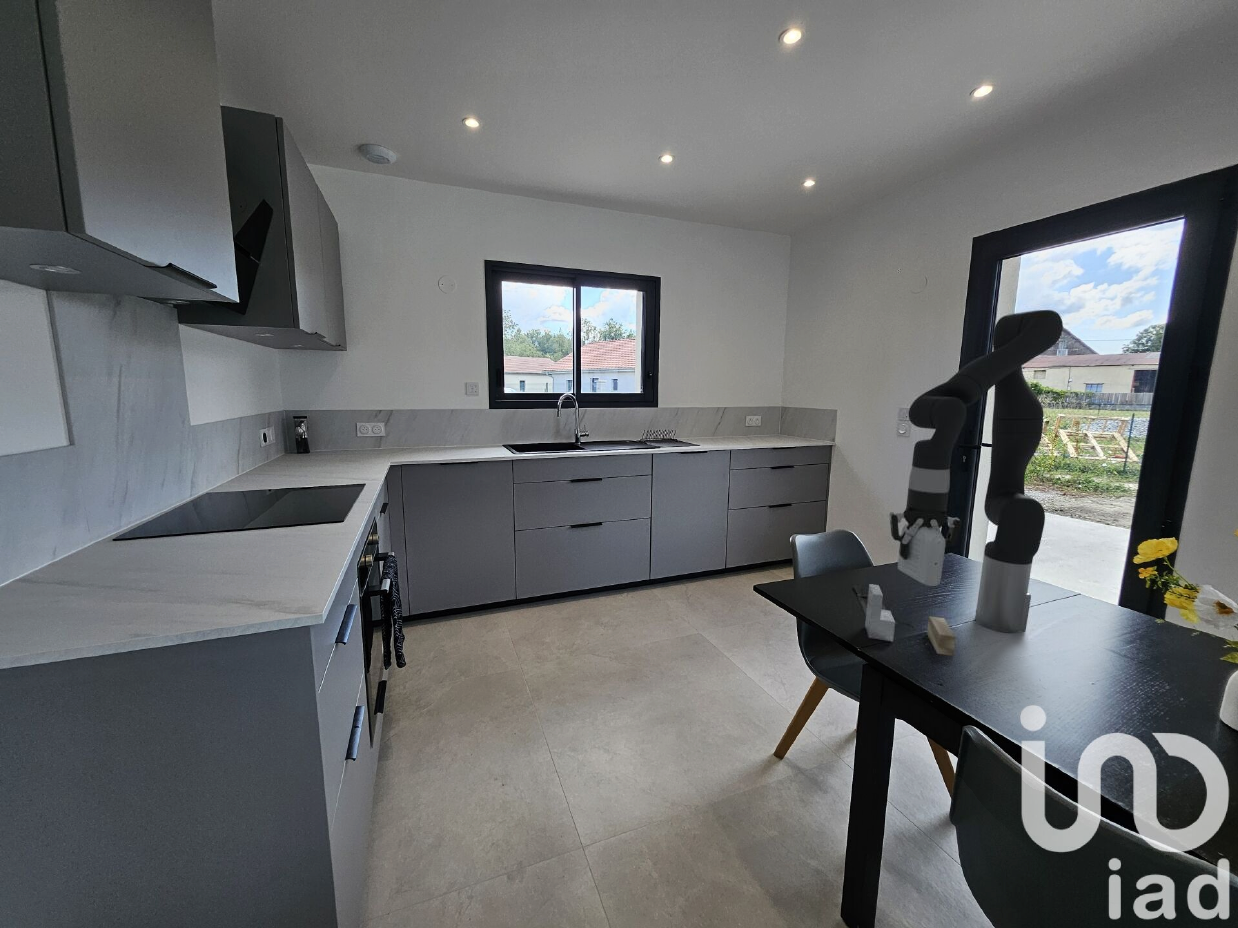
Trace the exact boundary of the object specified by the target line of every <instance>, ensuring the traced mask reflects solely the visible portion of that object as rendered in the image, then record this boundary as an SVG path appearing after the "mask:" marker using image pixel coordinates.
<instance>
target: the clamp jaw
mask: <svg viewBox="0 0 1238 928" xmlns="http://www.w3.org/2000/svg"><path fill="white" fill-rule="evenodd" d="M868 585H869V586H868V594H867V595H868V598H867V604H866V606H867V613H866V614H865V615H866V616H865V623H864V626H865V629H866V633H867V637H868V638H869V639H876V640H882V641H887V642H892V643H893V642H894V637H895V636H894V635H895V627H896V626H895V625H896V624H895V621H896V620H895V619H894V618H893V616H894V615H892V611H891V610H888V609H887V610H882V602H883V597H884V596H883V595H884V593H882V590H881V588H880V586H879V585H878V584H872V583H871V584H870V583H869V584H868ZM894 620H895V621H894Z"/></svg>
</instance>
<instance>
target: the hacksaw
mask: <svg viewBox="0 0 1238 928" xmlns="http://www.w3.org/2000/svg"><path fill="white" fill-rule="evenodd" d="M852 586H853V587H852V590H854V591H855V594H856V593H857V594H856V595H857V596H856V597H857V598H858V601H859V603H860V605H861V606H862V607H861V608H862V609H863V610H862V611H864V614H865V615H866V613H867V604H866V602H865V600H864V598H866V599H868V594H862V592H861V591H862V587H861V586H860V585H857V584H856V585H852ZM883 597H885V596H884V594H883ZM882 610H888V609H887V607H886V605H885V604H884V602H883V601H882ZM892 616H893V618H894V621H895V625H897V624H898V623H901V624H903V625H907V626H910V627H912V628H913V629H908V630H907V629H903V630H904V631H908V632H912V631H915V630H916V627H915V626H914V625H912V624H910V623H905V622H902V621H899V620H898V619H896V618H895V616H894V615H892Z"/></svg>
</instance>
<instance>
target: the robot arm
mask: <svg viewBox="0 0 1238 928" xmlns="http://www.w3.org/2000/svg"><path fill="white" fill-rule="evenodd" d="M1063 329H1064V324H1063V319H1062V317H1061V315H1060V314H1059V312H1057V311H1056V310H1053V309H1046V308H1043V309H1041V308H1040V309H1035V310H1028V311H1022V312H1014V313H1010V314H1009V313H1008V314H1006V315H1003V316H1001V317H1000V318H999V319H998V320H997V322H996V324H995V326H994V329H993V335H992V351H990V352H989V353H986V354H984V355H982V356H980V357H978V358H976V359H973V360H972V361H971V362H969V363H967V364H966V365H964V366H963V367H962V368H961V369H960V370H959V371H957V372H956V373H955V374H954V375H952V376H951V377H950V378H949V379H948V380H947V381H946V382H943V383H942V384H939V385H937V386H935V387H933V388H930V389H929V390H927V391H925V392H924V393H922V394H921V395H919V396H918V397H916V399H914V401H912V403H911V405H910V407H909V410H908V419H909V422H910V423H911V424H912V425H913V426H915V427H917V428H921V429H927V430H929V429H930V430H934V432H933V434H932V436H931V438H930V439H929V438H928V439H922V440H921V439H920V440H918V441H917V442H915V444H914V447H913V454H912V463H911V469H910V474H909V480H908V487H907V496H906V506H905V507H906V508H905V510H904V511H903V512H898V513H895V512H889V522H890V523H889V524H890V526H889V527H890V534H891V537H892V539H893V540H895V541H897V542H899V549H898V555H899V554H900V556H901V557H902V558H903V559H904V560H907V556H908V547H909V544H908V541H909V540H910V539H911V537H912V536H913V535H914V534H915V533H916V531H917V530H918V529H919V528H921V527H927V528H930V527H931V528H933V529H935V530H936V531H938V532H939V533H940V534H941V535H942V536H943V534H942V532H941V528H942V527H943V526H944V525H945V524H946V523H947V525H948V527H949V529H948V533H947V535H946V537H945V538H944V539H945V548H947V547H949V546H951V547H954V546H956V543H957V540H958V538H959V535H960V531H961V528H962V525H963V521H962V520H960V519H959V518H958V517H950V516H948V515H947V507H948V498H949V491H950V487H951V486H950V485H951V484H950V483H951V482H950V481H951V473H950V472H951V461H952V452H953V449H954V446H955V444H956V442H957V440H958V438H959V436H960V434H961V431H962V429H963V426H964V424H965V422H966V419H967V407H969V406H971V405H972V404H974V403H976V402H977V401H978V400H979V399H980V398H982V397H983V395H985V393H987V392H988V391H990V390H991V389H992V388H993V387H994V392H993V393H994V397H993V400H994V401H993V410H992V411H993V412H992V426H991V428H992V429H991V447H990V449H991V450H990V471H989V477H988V483H987V487H986V488H987V489H986V494H985V499H984V506H983V507H984V514H985V516H986V518H987V519H988V521H989V522H991V523H992V524H993V525H994V526H996V527H997V528H996V533H995V537H994V540H992V541H987V543H985V545H984V551H983V559H982V565H981V572H980V580H979V589H978V594H977V602H976V609H975V615H974V618H975V621H976V622H977V623H978V624H980V625H982V626H983V627H986V628H989V629H992V630H995V631H999V632H1002V633H1021V632H1022V633H1026V630H1027V625H1028V618H1029V614H1030V613H1029V611H1030V605H1031V600H1032V599H1031V598H1032V595H1031V594H1030V593H1029V587H1030V586H1029V585H1030V579H1031V573H1032V567H1033V565H1032V564H1033V560H1034V557H1035V555H1037V553H1038V551H1039V550H1040V549H1039V548H1040V546H1041V541H1042V537H1043V532H1044V529H1045V528H1044V527H1045V522H1046V513H1045V509H1044V506H1043V504H1042V503H1040V501H1038V500H1036V499H1035V498H1033V497H1031V496H1028V495H1025V494H1026V493H1025V482H1026V481H1025V477H1026V471H1027V469H1028V465H1029V463H1030V462H1031V460H1032V459H1033V457H1034V455H1035V453H1036V451H1037V450H1038V448H1039V445H1040V443H1041V439H1042V436H1043V428H1044V427H1043V426H1044V408H1043V405H1042V403H1041V402H1040V400H1039V398H1038V396H1037V395H1036V394H1035V392H1034V391H1033V389H1032V388H1031V386H1030V385H1029V383H1028V382H1027V380H1026V378H1025V375H1024V372H1023V366H1024V365H1025V364H1028V362H1030V361H1032V360H1034V358H1037V357H1038V356H1040V355H1041V354H1043V353H1045V352H1046V351H1048V350H1050V349H1051V348H1052V347H1054V346H1055V345H1056V344H1057V343H1058V341H1059V339H1061V336H1062V333H1063ZM902 519H904V520H905V522H907V523H908V525H907V526H906V528H905V530H904V532H903V534H902V535H901V534H900V530H899V524H901V522H902ZM907 523H906V524H907ZM910 527H911V528H910ZM909 528H910V529H909Z"/></svg>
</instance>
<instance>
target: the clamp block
mask: <svg viewBox="0 0 1238 928" xmlns="http://www.w3.org/2000/svg"><path fill="white" fill-rule="evenodd" d="M926 630H927V632H926V635H927V636H928V639H929V640H930V642H931V644H932V646H933V647H934V650H935V651H936V653H937V654H939V655H944V656H945V655H946V656H950V657H952V656H953V657H954V653H955V646H956V640H957V639H956V638H957V637H956V635H955V633H954V632H953V630H952V629H951V627H950V625H949V624H948V622H947V621H946V619H945V618H942V617H937V616H928V622H927V629H926Z"/></svg>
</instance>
